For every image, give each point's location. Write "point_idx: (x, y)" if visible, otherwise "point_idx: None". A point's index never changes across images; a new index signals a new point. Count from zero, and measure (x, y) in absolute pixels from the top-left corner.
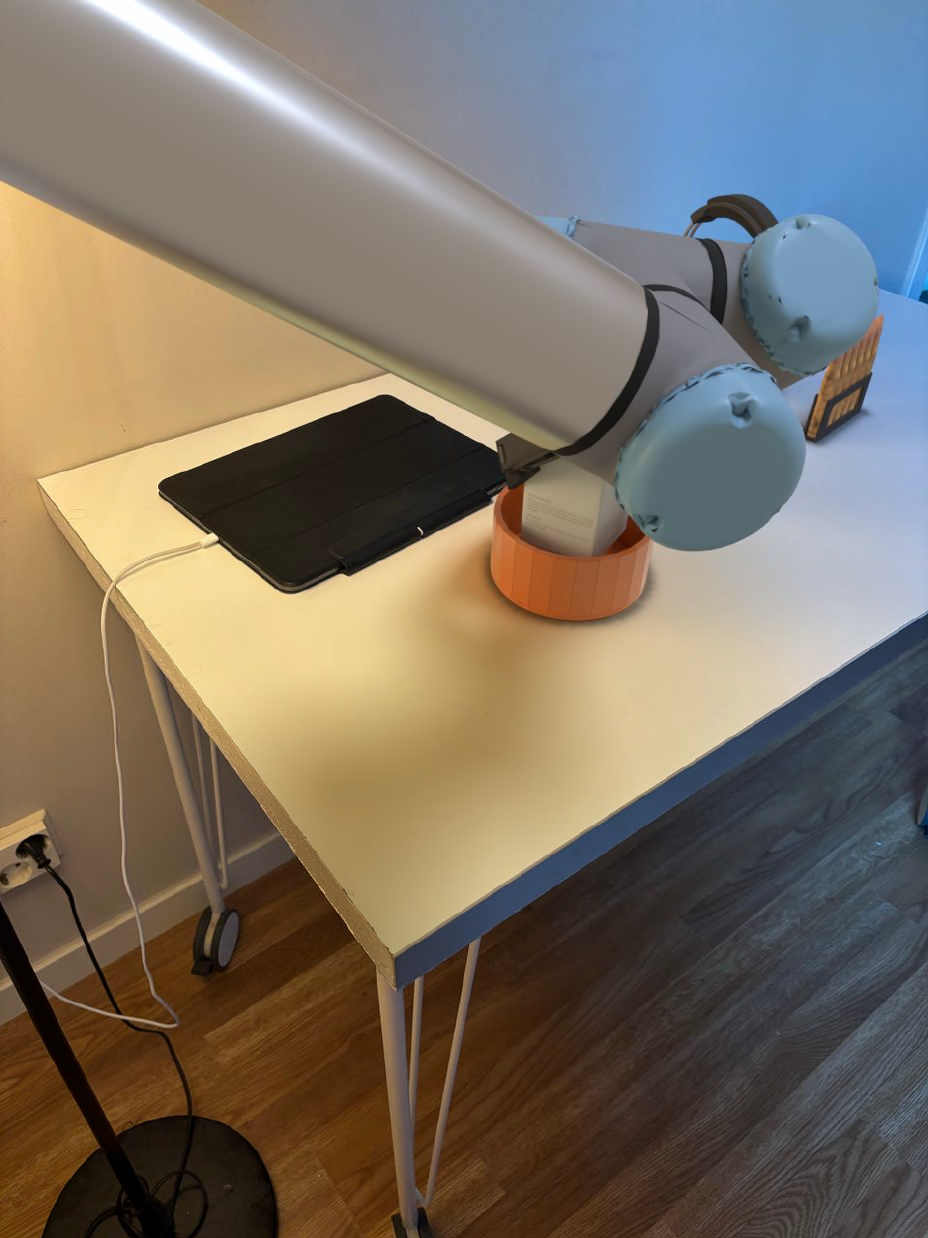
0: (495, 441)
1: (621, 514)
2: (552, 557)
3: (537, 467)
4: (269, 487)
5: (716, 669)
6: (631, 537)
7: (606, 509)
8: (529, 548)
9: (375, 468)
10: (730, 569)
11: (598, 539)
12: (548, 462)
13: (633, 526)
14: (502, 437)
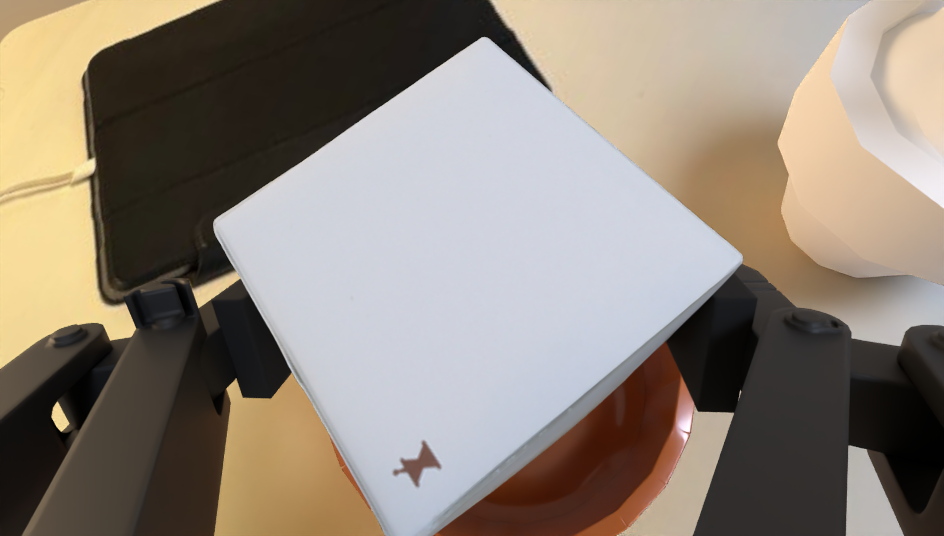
0: (48, 335)
1: (595, 407)
2: (368, 505)
3: (259, 390)
4: (197, 83)
5: None
6: (649, 359)
7: (504, 481)
8: (337, 453)
9: (339, 65)
10: (849, 479)
11: (492, 491)
12: (224, 451)
13: (655, 354)
14: (3, 368)
